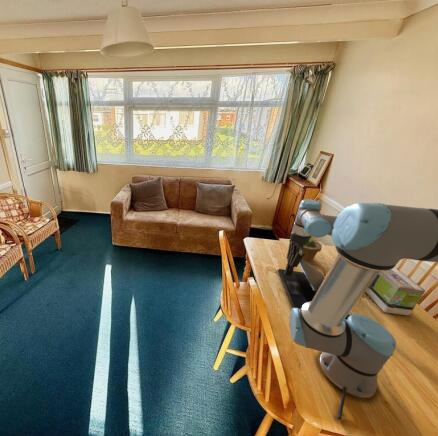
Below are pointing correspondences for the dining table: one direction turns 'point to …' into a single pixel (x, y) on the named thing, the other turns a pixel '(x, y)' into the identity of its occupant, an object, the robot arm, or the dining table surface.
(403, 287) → the tea box
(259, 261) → the dining table surface
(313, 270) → the laptop screen
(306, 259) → the flowerpot
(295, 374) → the dining table surface
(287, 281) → the laptop
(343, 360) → the robot arm
